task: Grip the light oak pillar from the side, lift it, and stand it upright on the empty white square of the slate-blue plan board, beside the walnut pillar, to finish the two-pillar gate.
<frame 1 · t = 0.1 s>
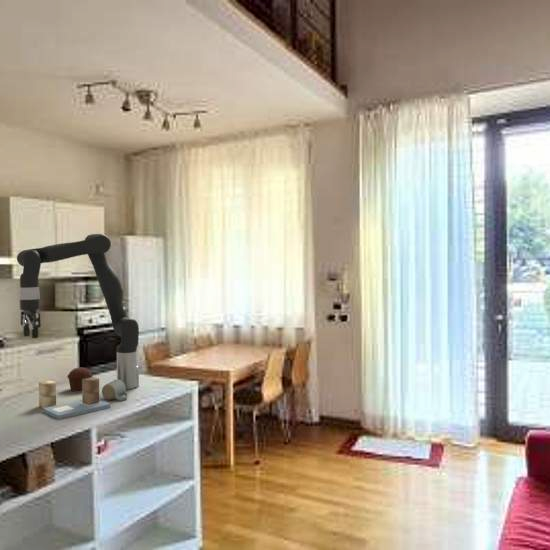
hand: (30, 337, 222), 29 cm above the countertop, tool pointing down, fingers open, 8 cm apart
ceramic mug: (116, 399, 236), on the countertop
walnut pillar: (90, 402, 223), point 2 cm above the countertop, touching plan board
plan board: (77, 409, 219), on the countertop
oak pillar: (47, 406, 224), on the countertop
muffin: (80, 389, 252), on the countertop
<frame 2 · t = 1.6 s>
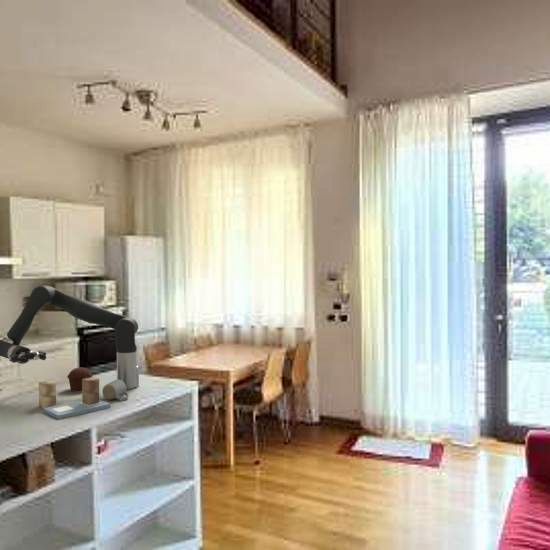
hand: (34, 359, 231), 18 cm above the countertop, tool horizontal, fingers open, 8 cm apart
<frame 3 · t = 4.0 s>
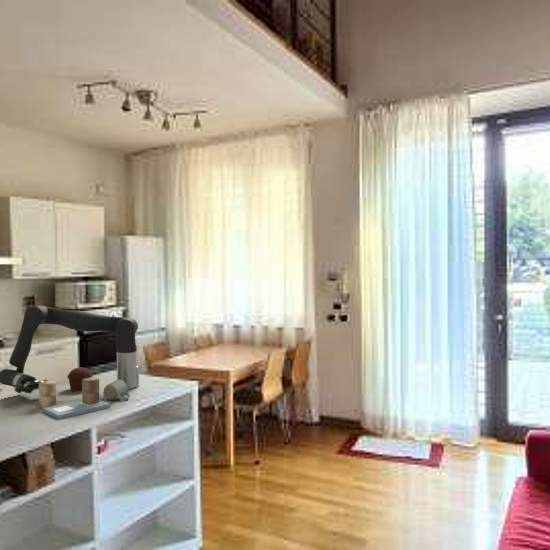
hand: (40, 388, 229), 6 cm above the countertop, tool horizontal, fingers open, 8 cm apart
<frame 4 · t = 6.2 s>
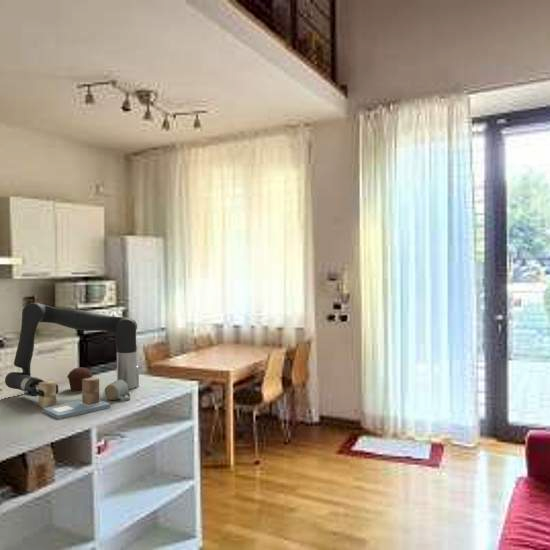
hand: (50, 392, 222), 6 cm above the countertop, tool horizontal, fingers closed on oak pillar, 5 cm apart
oak pillar: (47, 406, 224), on the countertop, touching gripper
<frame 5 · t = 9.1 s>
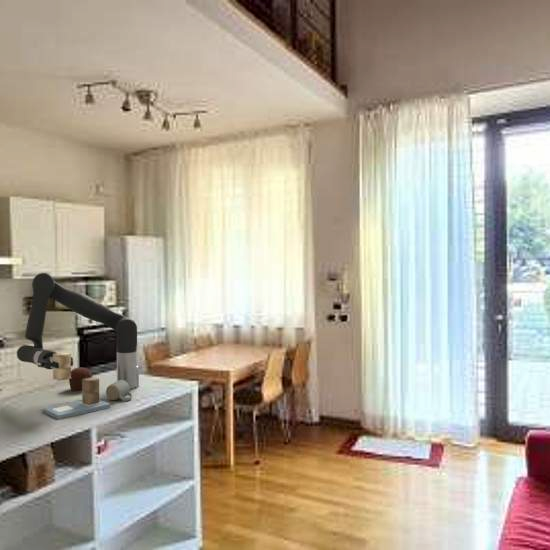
hand: (65, 364, 212), 20 cm above the countertop, tool horizontal, fingers closed on oak pillar, 5 cm apart
oak pillar: (62, 378, 214), point 14 cm above the countertop, touching gripper
when the fingers open (9 cm above the countertop, at t = 12.0 s): oak pillar drops 1 cm, resting on plan board.
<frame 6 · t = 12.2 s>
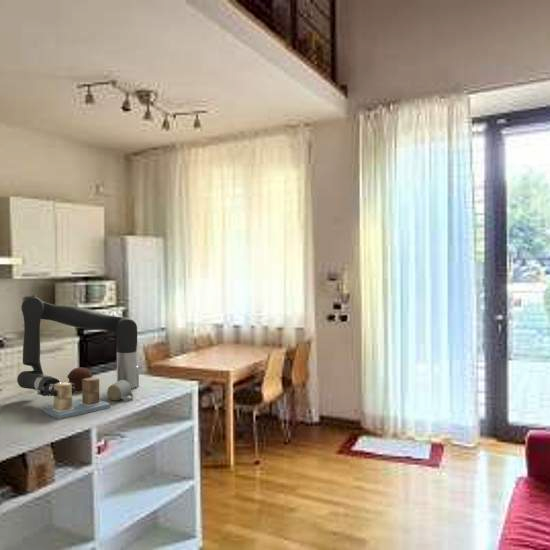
hand: (65, 392, 213), 9 cm above the countertop, tool horizontal, fingers open, 6 cm apart
oak pillar: (63, 408, 214), point 2 cm above the countertop, touching plan board
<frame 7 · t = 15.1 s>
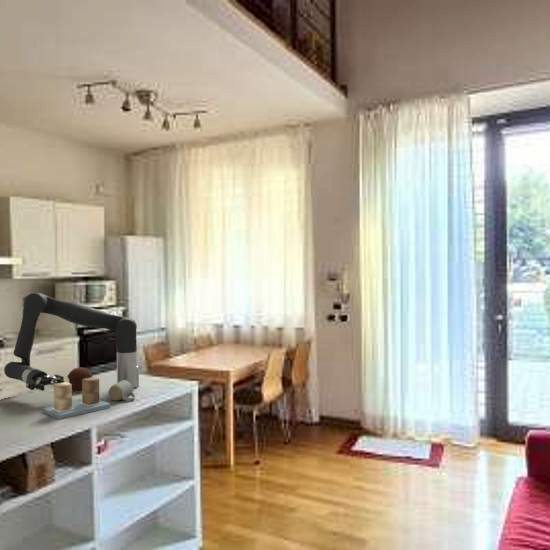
hand: (53, 385, 223), 9 cm above the countertop, tool horizontal, fingers open, 8 cm apart
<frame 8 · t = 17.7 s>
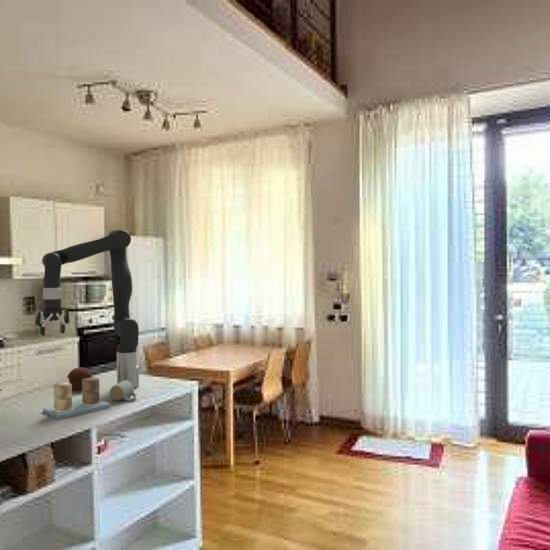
hand: (52, 334, 237), 28 cm above the countertop, tool pointing down, fingers open, 8 cm apart
at the end: oak pillar 0.0 cm from the target spot on the plan board, point 1.6 cm above the plan board's base; oak pillar tilted 0°; walnut pillar moved 0.0 cm from its start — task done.
